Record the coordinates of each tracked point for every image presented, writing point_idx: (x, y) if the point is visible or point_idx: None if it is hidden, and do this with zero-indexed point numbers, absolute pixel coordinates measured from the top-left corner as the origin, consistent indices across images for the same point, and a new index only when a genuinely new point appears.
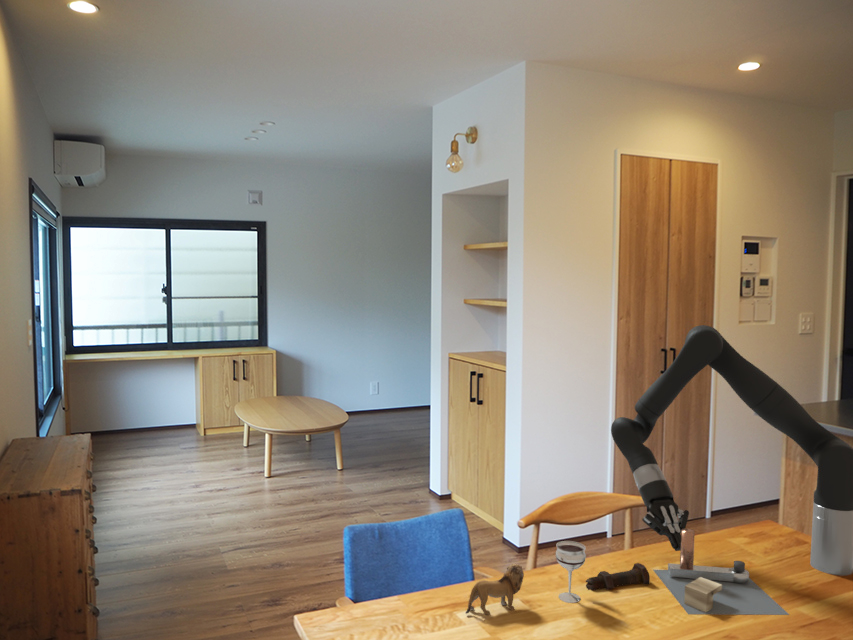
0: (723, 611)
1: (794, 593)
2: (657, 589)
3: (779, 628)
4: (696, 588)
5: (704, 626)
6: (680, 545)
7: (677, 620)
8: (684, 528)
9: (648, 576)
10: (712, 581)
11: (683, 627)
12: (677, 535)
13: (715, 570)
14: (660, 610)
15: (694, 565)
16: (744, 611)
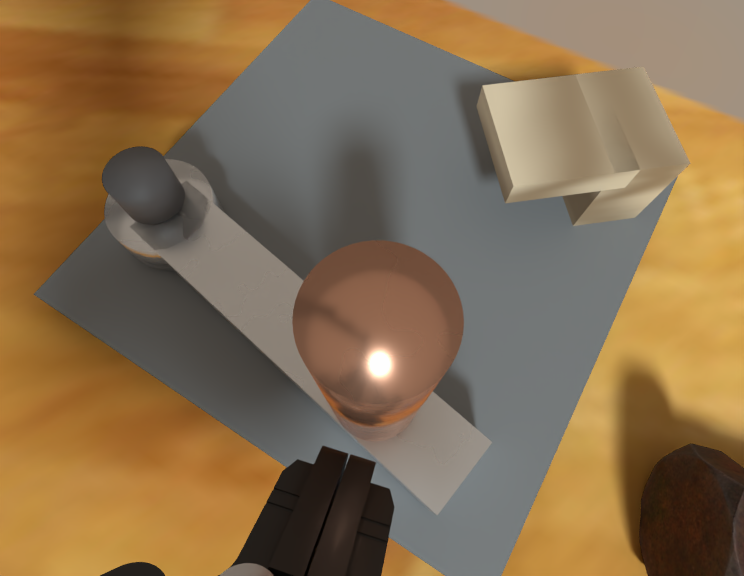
0: None
1: (75, 94)
2: (601, 429)
3: (403, 3)
4: (650, 118)
5: None
6: (355, 464)
7: (719, 187)
8: (133, 569)
9: (704, 456)
10: (499, 124)
11: (732, 147)
12: (307, 548)
13: (259, 274)
14: (738, 274)
15: (304, 386)
16: (445, 70)
